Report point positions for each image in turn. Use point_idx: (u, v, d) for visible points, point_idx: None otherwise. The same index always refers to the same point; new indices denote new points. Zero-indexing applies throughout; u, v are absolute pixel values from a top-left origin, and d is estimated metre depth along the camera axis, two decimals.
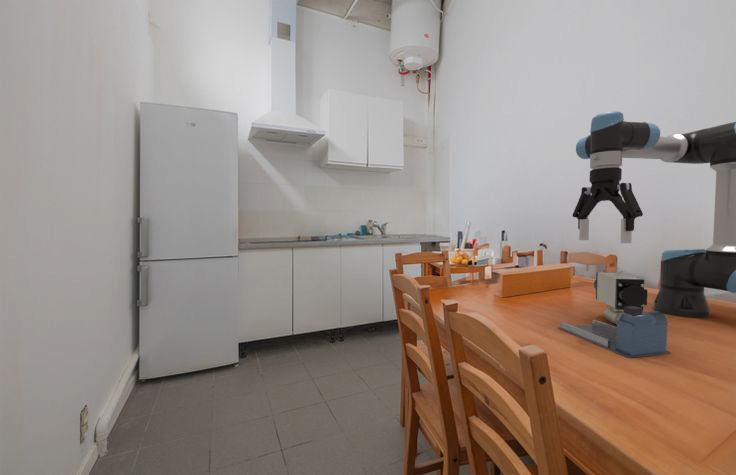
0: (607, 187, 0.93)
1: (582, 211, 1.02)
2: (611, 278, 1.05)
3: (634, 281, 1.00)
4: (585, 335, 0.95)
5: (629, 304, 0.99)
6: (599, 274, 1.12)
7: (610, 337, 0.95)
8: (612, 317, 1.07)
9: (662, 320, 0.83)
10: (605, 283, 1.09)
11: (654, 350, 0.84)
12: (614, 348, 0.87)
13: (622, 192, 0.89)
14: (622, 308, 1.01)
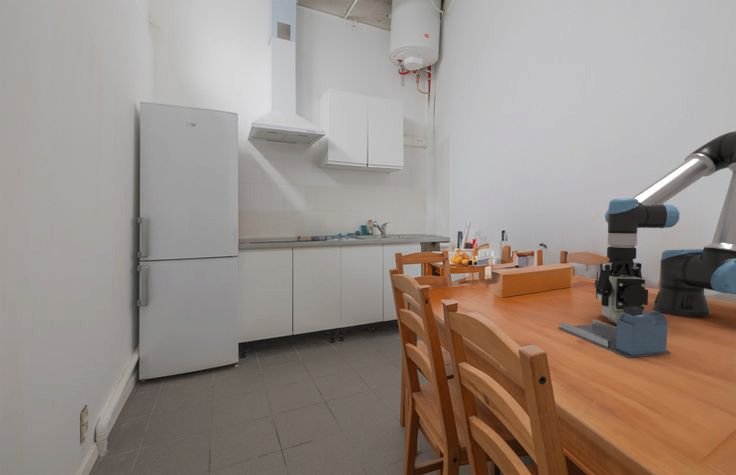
0: None
1: None
2: (612, 278, 1.05)
3: (635, 281, 1.00)
4: (585, 335, 0.95)
5: (630, 304, 0.99)
6: None
7: (610, 337, 0.95)
8: (612, 317, 1.07)
9: (662, 320, 0.83)
10: None
11: (654, 350, 0.84)
12: (614, 348, 0.87)
13: None
14: (623, 308, 1.01)
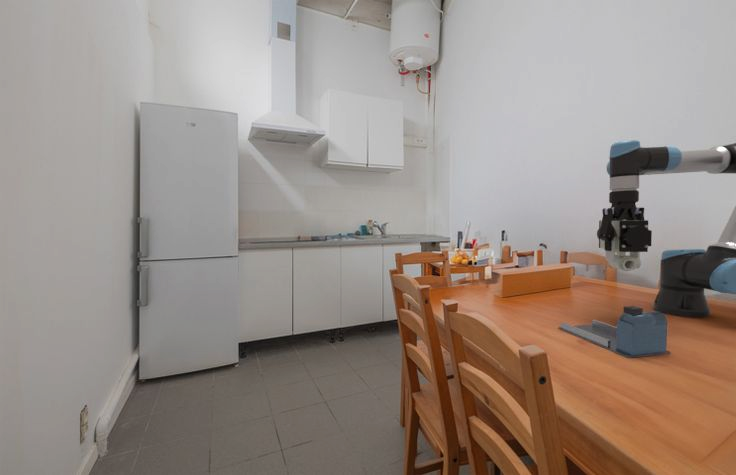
0: None
1: None
2: (615, 222, 1.04)
3: (638, 222, 0.99)
4: (585, 335, 0.95)
5: (633, 245, 0.98)
6: None
7: (610, 337, 0.95)
8: (616, 262, 1.06)
9: (662, 320, 0.83)
10: None
11: (654, 350, 0.84)
12: (614, 348, 0.87)
13: None
14: (626, 250, 1.00)
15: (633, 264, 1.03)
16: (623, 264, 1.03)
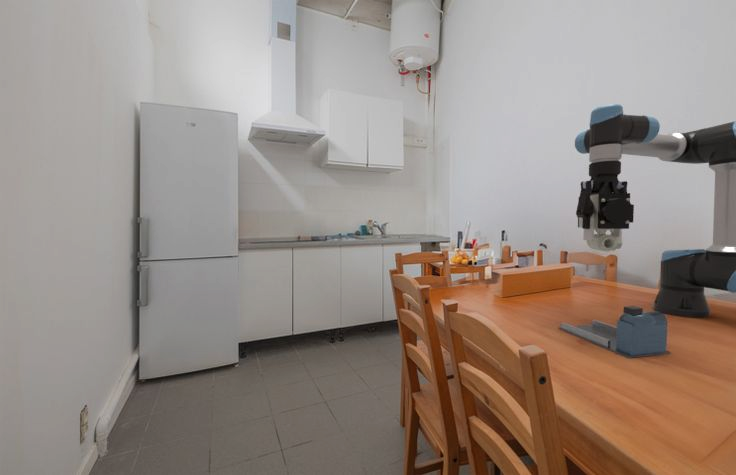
0: None
1: None
2: (593, 196, 0.93)
3: (619, 195, 0.88)
4: (585, 335, 0.95)
5: (613, 220, 0.87)
6: None
7: (610, 337, 0.95)
8: (595, 241, 0.95)
9: (662, 320, 0.83)
10: None
11: (654, 350, 0.84)
12: (614, 348, 0.87)
13: None
14: (605, 227, 0.89)
15: (613, 243, 0.92)
16: (602, 243, 0.92)
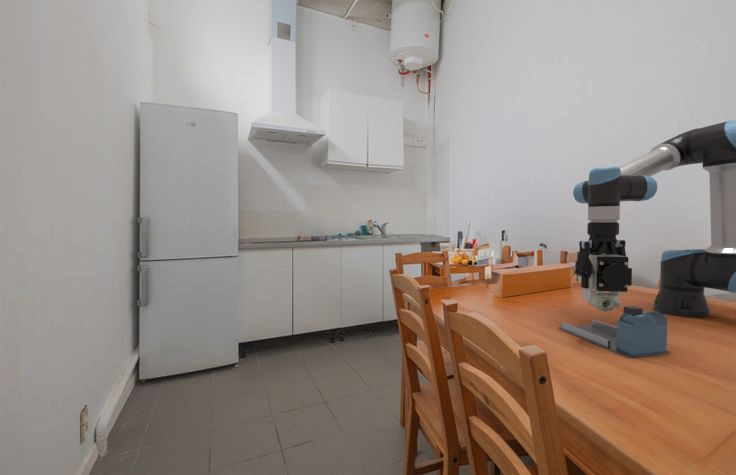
0: None
1: None
2: (592, 256, 0.93)
3: (617, 259, 0.89)
4: (585, 335, 0.95)
5: (611, 284, 0.88)
6: None
7: (610, 337, 0.95)
8: (593, 300, 0.95)
9: (662, 320, 0.83)
10: None
11: (654, 350, 0.84)
12: (614, 348, 0.87)
13: None
14: (604, 289, 0.90)
15: (612, 304, 0.92)
16: (601, 304, 0.93)
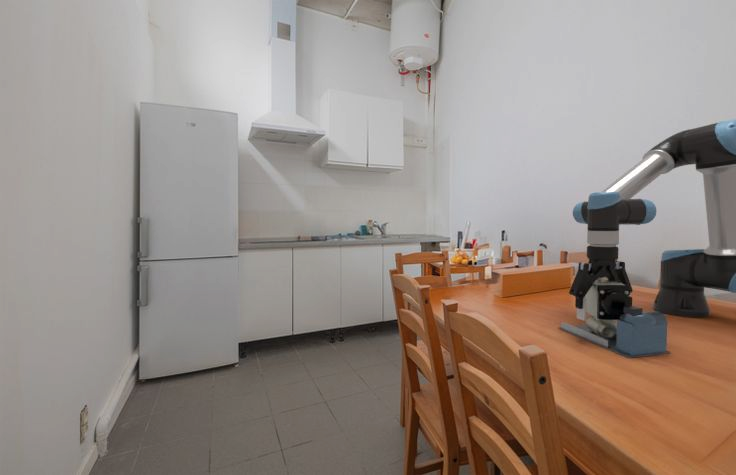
0: None
1: None
2: (592, 284, 0.94)
3: (617, 287, 0.90)
4: (585, 335, 0.95)
5: (612, 314, 0.88)
6: None
7: None
8: (594, 327, 0.96)
9: (662, 320, 0.83)
10: None
11: (654, 350, 0.84)
12: (614, 348, 0.87)
13: None
14: (605, 318, 0.91)
15: (612, 332, 0.93)
16: (602, 331, 0.93)
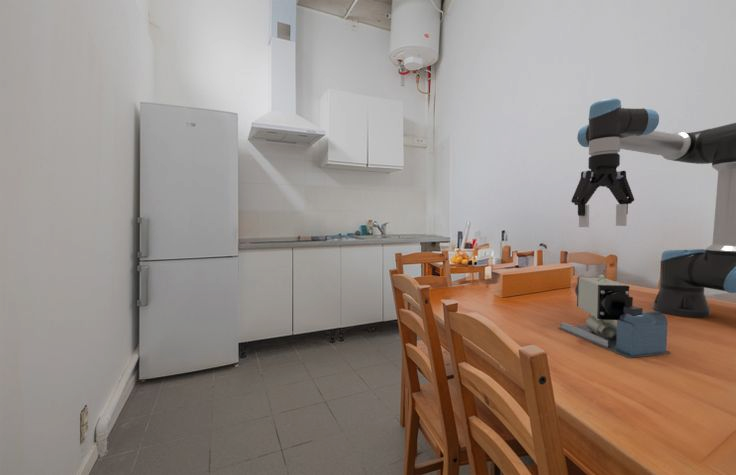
0: None
1: None
2: (593, 284, 0.94)
3: (618, 288, 0.90)
4: (585, 335, 0.95)
5: (612, 314, 0.88)
6: (581, 279, 1.01)
7: None
8: (594, 327, 0.96)
9: (662, 320, 0.83)
10: (586, 289, 0.98)
11: (654, 350, 0.84)
12: (614, 348, 0.87)
13: None
14: (605, 318, 0.91)
15: (612, 332, 0.93)
16: (602, 331, 0.93)
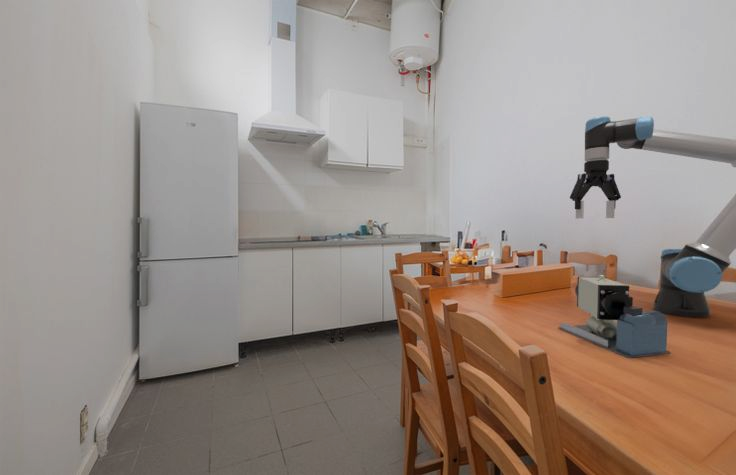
0: None
1: None
2: (593, 284, 0.94)
3: (618, 288, 0.90)
4: (585, 335, 0.95)
5: (612, 314, 0.88)
6: (581, 279, 1.01)
7: None
8: (594, 327, 0.96)
9: (662, 320, 0.83)
10: (586, 289, 0.98)
11: (654, 350, 0.84)
12: (614, 348, 0.87)
13: None
14: (605, 318, 0.91)
15: (612, 332, 0.93)
16: (602, 331, 0.93)
